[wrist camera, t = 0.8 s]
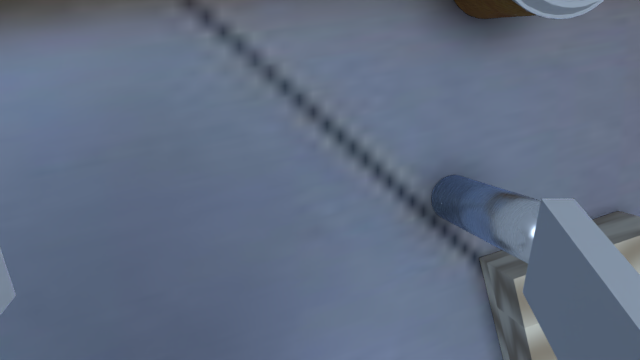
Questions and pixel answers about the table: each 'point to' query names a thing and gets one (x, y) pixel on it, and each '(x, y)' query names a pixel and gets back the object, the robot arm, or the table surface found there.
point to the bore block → (511, 305)
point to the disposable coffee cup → (526, 8)
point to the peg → (488, 213)
